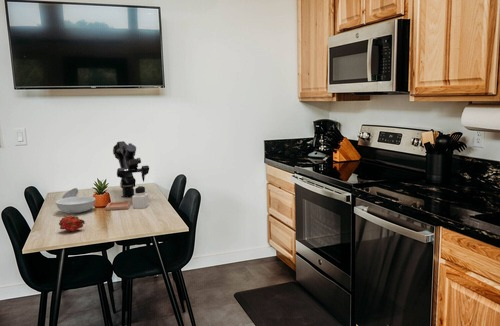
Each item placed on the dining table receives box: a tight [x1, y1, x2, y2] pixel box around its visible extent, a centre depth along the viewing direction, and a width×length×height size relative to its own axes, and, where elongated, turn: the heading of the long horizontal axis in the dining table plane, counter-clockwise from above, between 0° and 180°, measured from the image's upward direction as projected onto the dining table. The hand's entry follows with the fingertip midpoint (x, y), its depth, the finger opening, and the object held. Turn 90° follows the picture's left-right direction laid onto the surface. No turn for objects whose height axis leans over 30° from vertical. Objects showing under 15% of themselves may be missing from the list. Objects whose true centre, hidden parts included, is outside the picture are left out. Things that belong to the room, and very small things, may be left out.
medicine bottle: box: [131, 186, 150, 209], centre depth 249 cm, size 7×7×12 cm
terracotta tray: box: [105, 200, 132, 212], centre depth 250 cm, size 12×12×2 cm
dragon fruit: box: [58, 215, 86, 233], centre depth 206 cm, size 8×8×12 cm
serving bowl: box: [55, 195, 96, 214], centre depth 244 cm, size 21×21×7 cm
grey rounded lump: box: [61, 187, 79, 199], centre depth 267 cm, size 11×10×10 cm
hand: (136, 182), depth 255 cm, fingers open, 9 cm apart
